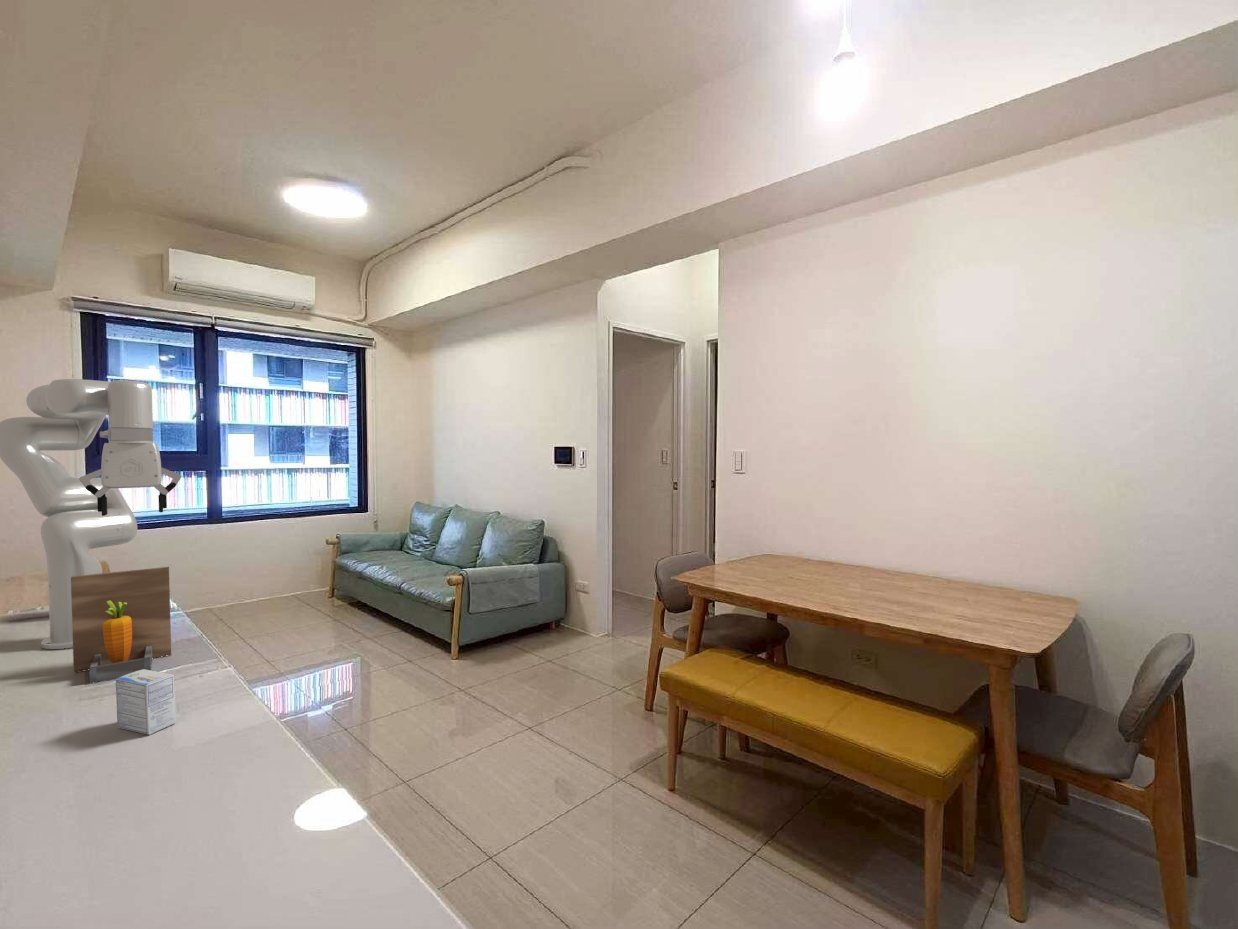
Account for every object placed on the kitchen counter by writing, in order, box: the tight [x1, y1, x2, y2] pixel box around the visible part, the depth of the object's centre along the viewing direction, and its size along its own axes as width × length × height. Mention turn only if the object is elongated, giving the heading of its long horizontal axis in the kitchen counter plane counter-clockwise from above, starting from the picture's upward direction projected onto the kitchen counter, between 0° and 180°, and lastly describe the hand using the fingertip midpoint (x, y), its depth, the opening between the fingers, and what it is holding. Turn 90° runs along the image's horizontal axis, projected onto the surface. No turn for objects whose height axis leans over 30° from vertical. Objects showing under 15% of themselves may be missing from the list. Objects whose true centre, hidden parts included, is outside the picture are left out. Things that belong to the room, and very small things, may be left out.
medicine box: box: [115, 669, 177, 735], centre depth 96 cm, size 8×4×9 cm, turn 71°
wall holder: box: [71, 566, 172, 684], centre depth 121 cm, size 11×16×20 cm
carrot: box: [103, 600, 132, 663], centre depth 120 cm, size 5×5×15 cm
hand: (133, 513), depth 128 cm, fingers open, 9 cm apart
